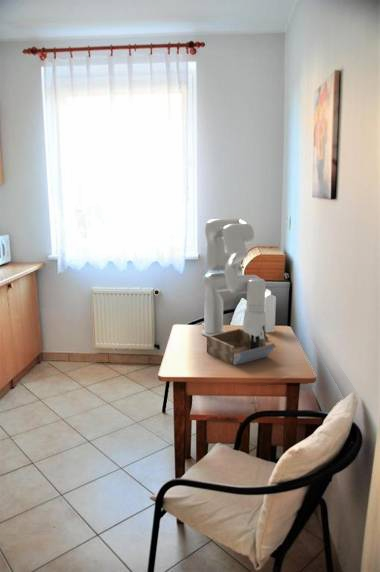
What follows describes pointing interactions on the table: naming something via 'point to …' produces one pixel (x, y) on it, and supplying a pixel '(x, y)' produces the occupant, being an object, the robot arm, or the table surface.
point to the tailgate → (253, 354)
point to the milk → (270, 311)
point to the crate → (229, 344)
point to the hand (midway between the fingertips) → (254, 349)
